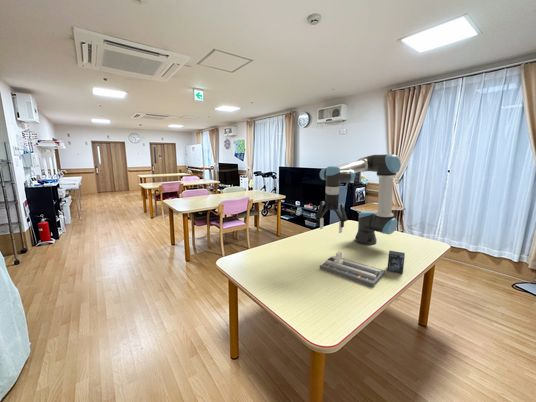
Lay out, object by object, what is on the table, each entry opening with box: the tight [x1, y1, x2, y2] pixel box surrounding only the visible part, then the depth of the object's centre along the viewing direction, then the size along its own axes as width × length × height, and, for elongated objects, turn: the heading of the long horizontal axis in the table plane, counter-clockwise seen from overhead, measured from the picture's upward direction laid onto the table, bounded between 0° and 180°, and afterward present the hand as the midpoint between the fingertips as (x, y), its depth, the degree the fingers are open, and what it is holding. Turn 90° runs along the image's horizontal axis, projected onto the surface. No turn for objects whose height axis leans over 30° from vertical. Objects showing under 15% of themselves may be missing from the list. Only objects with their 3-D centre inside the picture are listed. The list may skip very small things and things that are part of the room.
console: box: [319, 255, 386, 288], centre depth 134 cm, size 18×30×4 cm, turn 48°
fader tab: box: [334, 250, 343, 264], centre depth 139 cm, size 4×4×7 cm
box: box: [386, 250, 406, 275], centre depth 134 cm, size 8×6×11 cm
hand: (330, 230), depth 140 cm, fingers open, 11 cm apart
